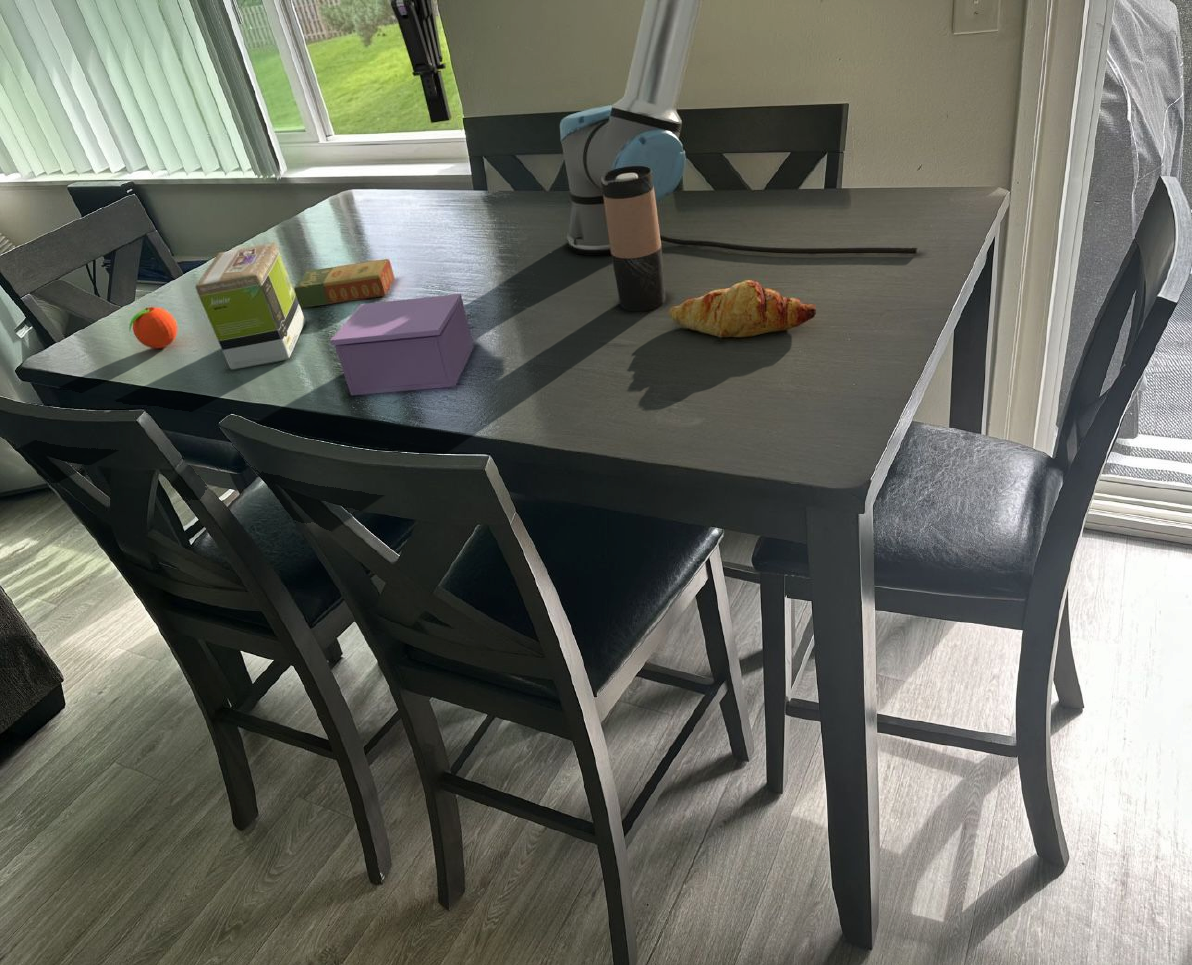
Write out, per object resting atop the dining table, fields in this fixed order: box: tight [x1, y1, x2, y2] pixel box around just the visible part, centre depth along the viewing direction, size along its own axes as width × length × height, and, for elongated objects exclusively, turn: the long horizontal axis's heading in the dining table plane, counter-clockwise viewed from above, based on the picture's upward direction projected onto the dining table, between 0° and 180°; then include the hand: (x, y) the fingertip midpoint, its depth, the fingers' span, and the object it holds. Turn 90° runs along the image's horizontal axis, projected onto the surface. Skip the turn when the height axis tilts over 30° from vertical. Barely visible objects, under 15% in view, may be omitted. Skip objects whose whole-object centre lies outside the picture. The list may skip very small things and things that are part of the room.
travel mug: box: [601, 166, 666, 312], centre depth 140 cm, size 8×8×20 cm
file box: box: [334, 298, 475, 396], centre depth 135 cm, size 13×16×8 cm
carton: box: [293, 258, 395, 309], centre depth 168 cm, size 8×16×4 cm, turn 88°
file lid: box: [329, 293, 463, 346], centre depth 132 cm, size 13×16×1 cm
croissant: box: [669, 279, 817, 338], centre depth 132 cm, size 21×10×8 cm, turn 70°
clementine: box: [128, 306, 178, 349], centre depth 159 cm, size 8×7×7 cm
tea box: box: [194, 241, 306, 370], centre depth 150 cm, size 15×10×15 cm
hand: (441, 120), depth 135 cm, fingers closed
